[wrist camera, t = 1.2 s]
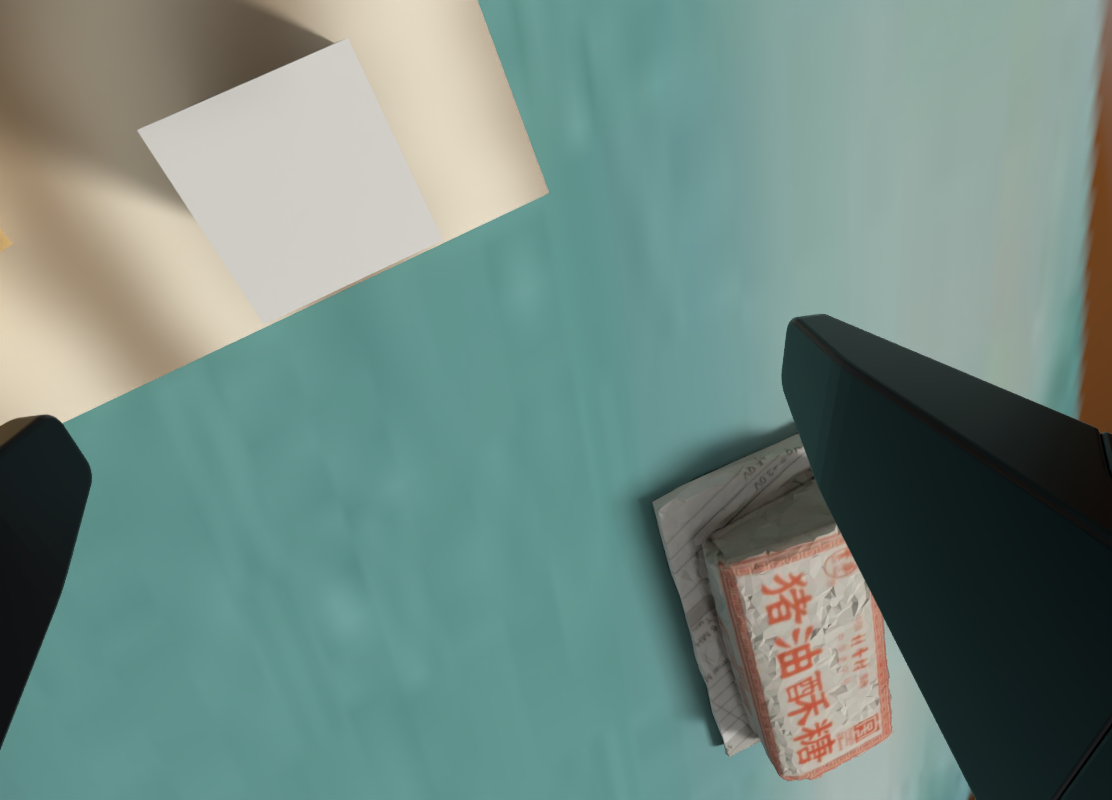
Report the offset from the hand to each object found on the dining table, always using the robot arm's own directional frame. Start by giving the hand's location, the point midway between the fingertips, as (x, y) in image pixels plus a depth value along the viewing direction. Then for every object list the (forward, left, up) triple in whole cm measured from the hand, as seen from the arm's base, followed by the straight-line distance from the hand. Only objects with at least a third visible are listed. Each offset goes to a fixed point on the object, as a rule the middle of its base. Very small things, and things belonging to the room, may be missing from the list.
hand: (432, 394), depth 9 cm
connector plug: (-1, +2, -14) cm, 14 cm away
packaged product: (+9, -25, -15) cm, 31 cm away
